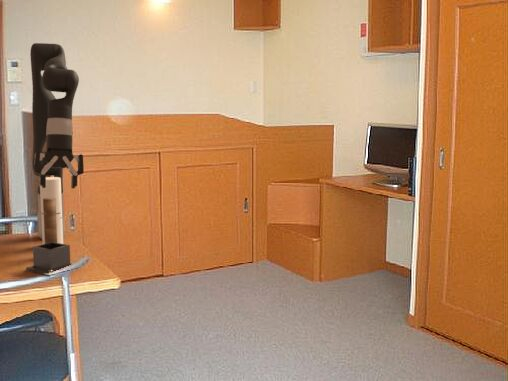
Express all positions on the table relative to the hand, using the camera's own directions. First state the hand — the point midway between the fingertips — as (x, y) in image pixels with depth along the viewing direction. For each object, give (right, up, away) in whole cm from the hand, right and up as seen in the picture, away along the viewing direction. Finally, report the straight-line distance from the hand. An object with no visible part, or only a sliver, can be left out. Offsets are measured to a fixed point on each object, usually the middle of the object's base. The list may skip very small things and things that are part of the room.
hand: (58, 188), depth 183 cm
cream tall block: (-14, -21, +38) cm, 46 cm away
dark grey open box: (-5, -26, +9) cm, 28 cm away
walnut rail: (-10, -23, +24) cm, 35 cm away
